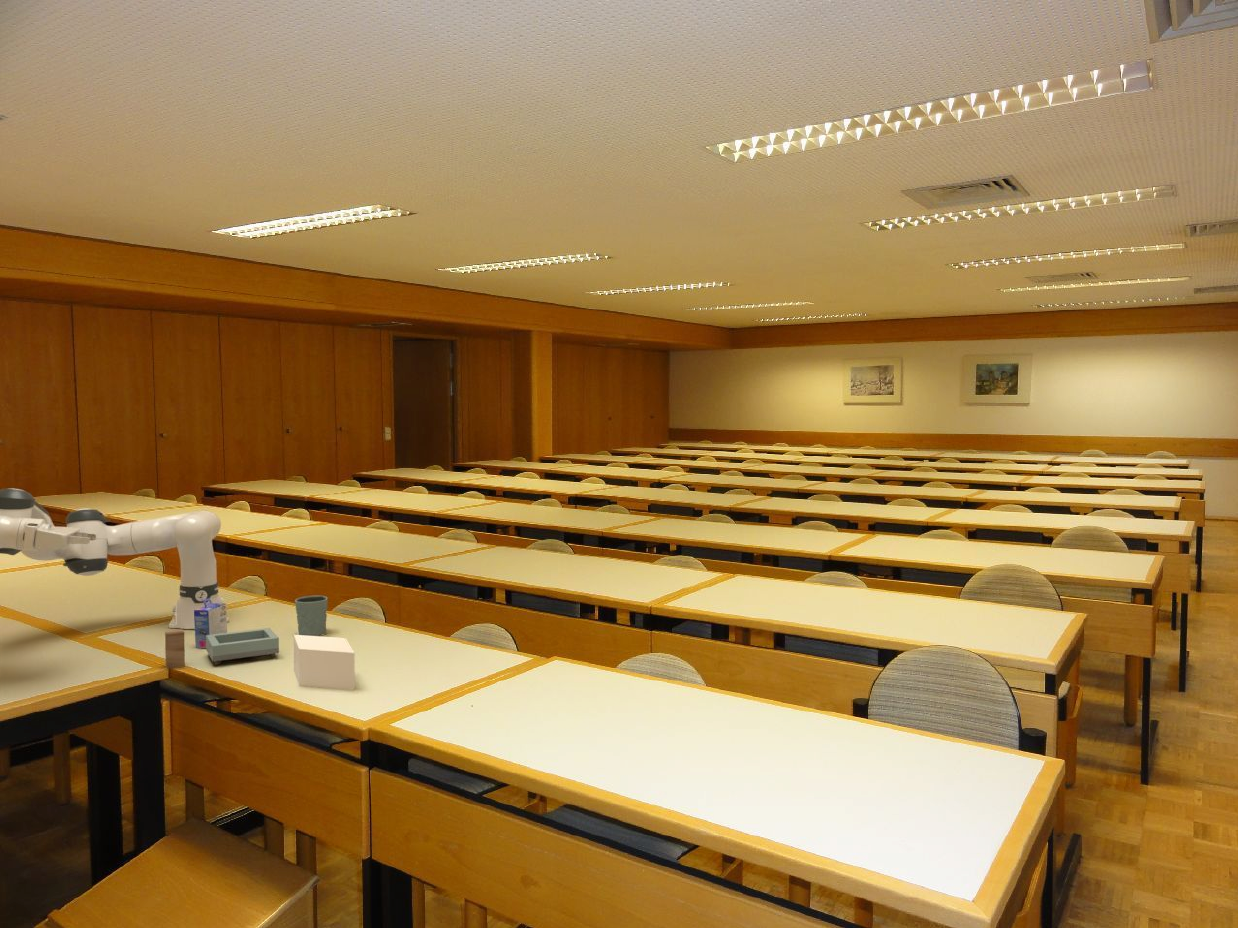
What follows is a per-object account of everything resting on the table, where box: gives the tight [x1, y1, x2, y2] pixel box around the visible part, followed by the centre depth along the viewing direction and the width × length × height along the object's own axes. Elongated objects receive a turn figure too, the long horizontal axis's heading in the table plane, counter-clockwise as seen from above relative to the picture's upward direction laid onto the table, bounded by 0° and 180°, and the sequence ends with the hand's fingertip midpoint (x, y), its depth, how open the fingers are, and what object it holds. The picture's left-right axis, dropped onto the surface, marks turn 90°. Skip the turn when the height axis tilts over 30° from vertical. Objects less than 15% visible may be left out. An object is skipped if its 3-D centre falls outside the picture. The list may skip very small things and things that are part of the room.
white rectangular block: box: [293, 634, 356, 691], centre depth 232 cm, size 14×29×10 cm, turn 53°
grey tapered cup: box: [294, 595, 328, 636], centre depth 279 cm, size 10×10×12 cm
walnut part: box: [164, 628, 186, 670], centre depth 242 cm, size 4×4×10 cm
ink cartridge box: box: [194, 598, 228, 649], centre depth 265 cm, size 10×6×14 cm, turn 174°
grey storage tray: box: [205, 627, 280, 666], centre depth 252 cm, size 14×18×6 cm
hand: (92, 539), depth 236 cm, fingers open, 8 cm apart
